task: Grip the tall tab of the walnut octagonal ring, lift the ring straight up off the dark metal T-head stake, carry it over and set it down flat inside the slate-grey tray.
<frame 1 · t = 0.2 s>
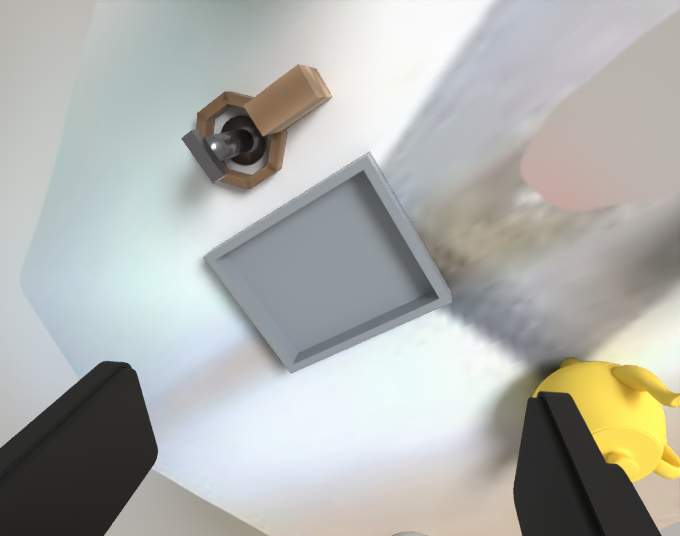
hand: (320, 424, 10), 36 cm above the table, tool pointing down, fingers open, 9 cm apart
tray: (328, 268, 48), on the table
ring: (244, 140, 44), on the table
teapot: (587, 393, 50), on the table
stake: (244, 140, 44), on the table
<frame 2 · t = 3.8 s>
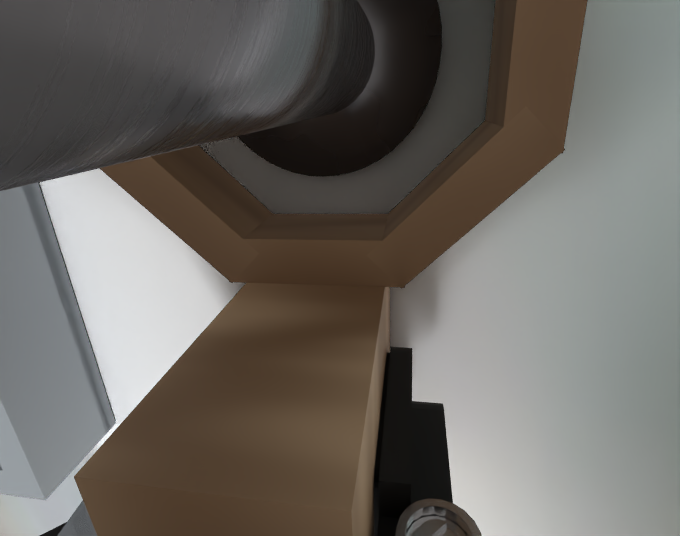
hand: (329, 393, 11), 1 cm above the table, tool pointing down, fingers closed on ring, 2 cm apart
ring: (320, 54, 9), on the table, touching gripper
stake: (320, 55, 9), on the table
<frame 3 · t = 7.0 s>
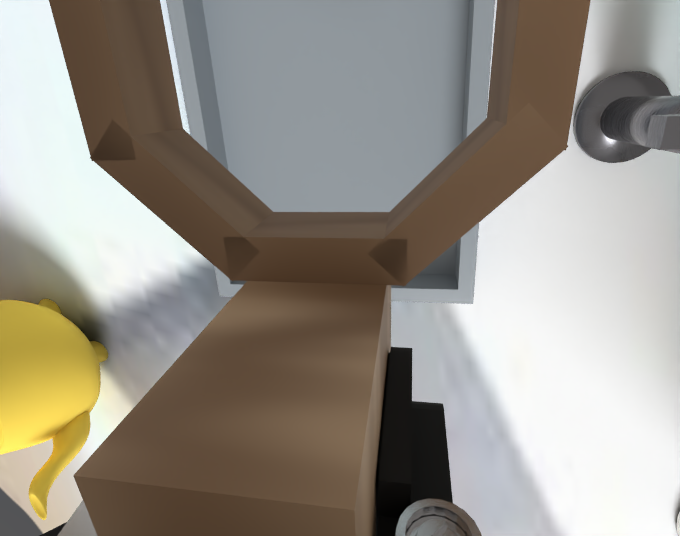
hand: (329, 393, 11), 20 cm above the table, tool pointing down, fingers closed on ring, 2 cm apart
tray: (337, 131, 27), on the table
ring: (321, 51, 9), point 19 cm above the table, touching gripper
teapot: (57, 350, 40), on the table
stake: (619, 118, 24), on the table
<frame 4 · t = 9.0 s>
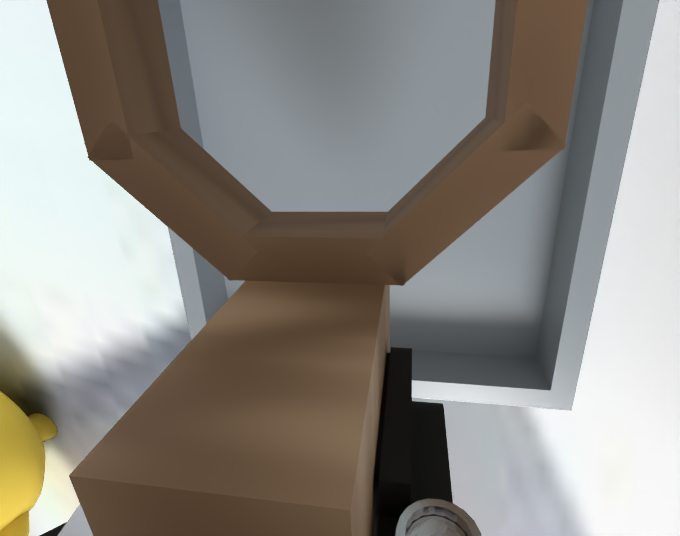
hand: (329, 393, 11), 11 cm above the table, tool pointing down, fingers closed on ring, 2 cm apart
tray: (374, 153, 19), on the table
ring: (319, 50, 9), point 9 cm above the table, touching gripper
when the fingers open (4 cm above the table, at t = 10.5 s): ring drops 2 cm, resting on tray.
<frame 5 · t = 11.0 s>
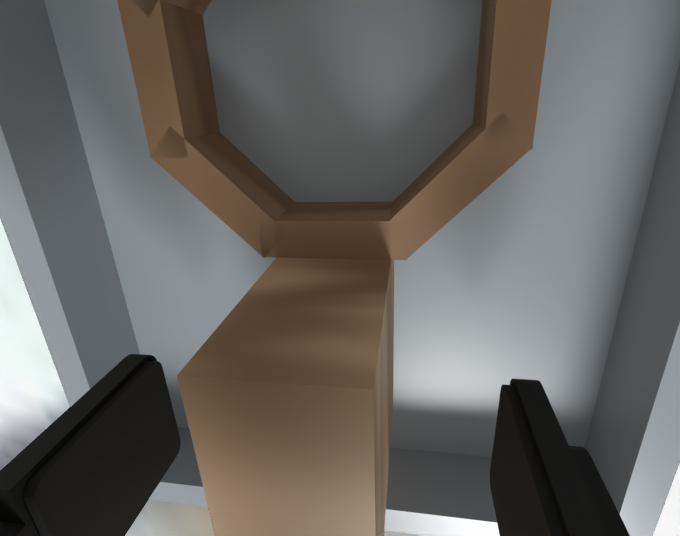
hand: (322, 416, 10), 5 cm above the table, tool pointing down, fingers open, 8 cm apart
tray: (343, 175, 12), on the table
ring: (337, 69, 11), resting on tray
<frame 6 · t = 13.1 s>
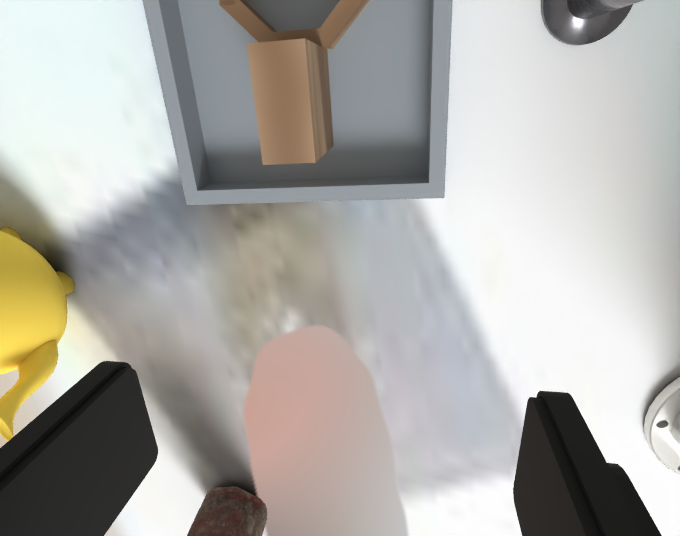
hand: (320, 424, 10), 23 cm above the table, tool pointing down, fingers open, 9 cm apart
candle: (239, 497, 47), on the table
tray: (303, 22, 26), on the table
teapot: (20, 284, 38), on the table
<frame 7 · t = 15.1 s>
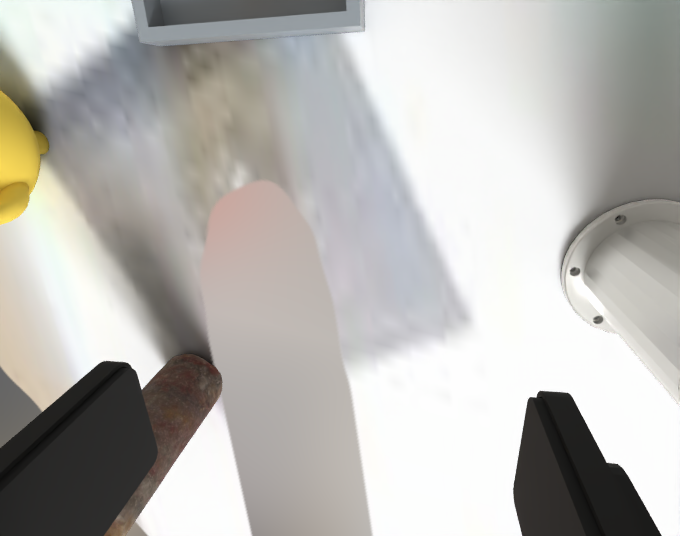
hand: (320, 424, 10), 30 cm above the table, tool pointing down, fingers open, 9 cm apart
candle: (199, 372, 50), on the table
teapot: (2, 146, 43), on the table
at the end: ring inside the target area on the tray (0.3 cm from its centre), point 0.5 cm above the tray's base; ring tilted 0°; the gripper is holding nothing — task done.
